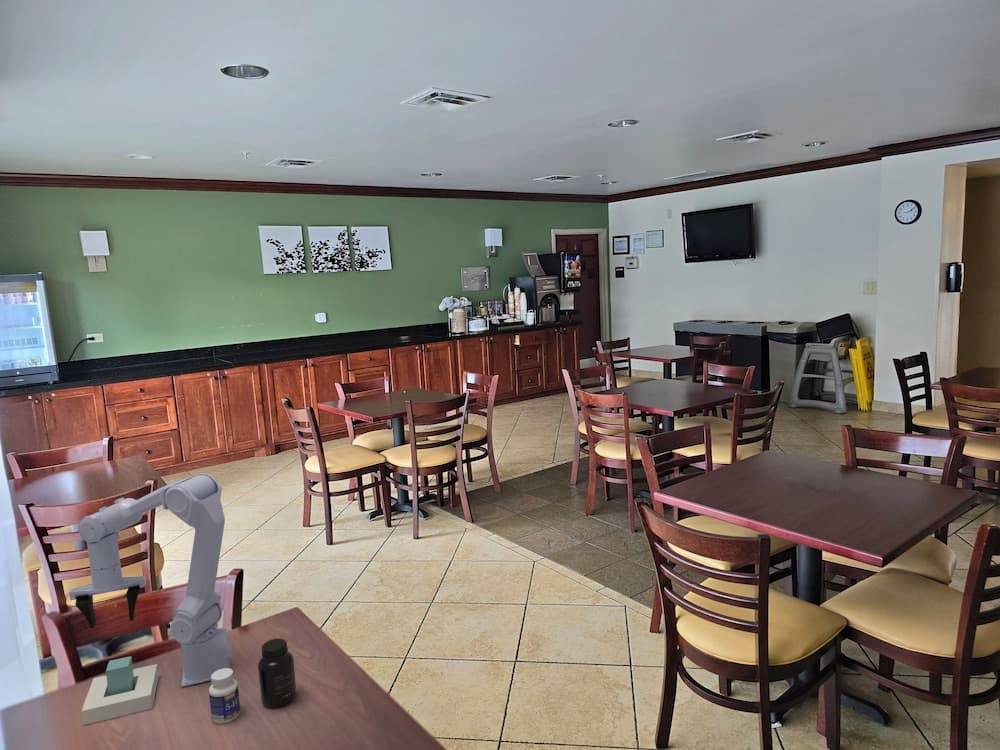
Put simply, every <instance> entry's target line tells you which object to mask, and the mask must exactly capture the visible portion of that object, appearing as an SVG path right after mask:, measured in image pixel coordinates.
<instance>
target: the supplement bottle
mask: <svg viewBox="0 0 1000 750" xmlns="http://www.w3.org/2000/svg"><path fill="white" fill-rule="evenodd" d="M294 661H295V660H294V656H293V654H292V653H291V652H290V651H289V648H288V644H287V640H285V639H284V638H280V637H279V638H273V639H269V640H267V641H266V642H264V643H263V644H262V646H261V658H260V659H259V660H258V665H257V669H258V678H259V679H258V680H259V687H260V688H259V689H260V697H261V704H262V705H263V706H264V707H266V708H267V709H273V710H274V709H280V708H283V707H287V705H289V704H291V703H292V702H294V700H295V698H296V697H297V684H296V672H295V662H294Z"/></svg>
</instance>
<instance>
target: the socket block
mask: <svg viewBox="0 0 1000 750" xmlns="http://www.w3.org/2000/svg"><path fill="white" fill-rule="evenodd" d="M133 674H134V682H135V690H133V691H129V692H125V693H121V694H116V695H112V696H109V692H108V685H107V677H106V674H105V675H101V676H98V677H97V676H96V677H93V679H92V682H91V684H90V687H89V689H88V692H87V694H86V698H85V701H84V703H83V705H82V709H81V712H80V713H81V718H82V725H83V726H87V725H90V724H93V723H99V722H102V721H103V722H104V721H107V720H111V719H115V718H118V717H119V718H120V717H124V716H127V715H131V714H132V715H133V714H136V713H139V712H144V711H148V710H152V709H153V707H154V702H155V695H156V692H157V687H158V681H159V678H158V677H160V675H159V669H158V664H157V663H156V664H155V663H154V664H151V665H147V666H143V667H138V668H133Z"/></svg>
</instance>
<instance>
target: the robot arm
mask: <svg viewBox="0 0 1000 750" xmlns="http://www.w3.org/2000/svg"><path fill="white" fill-rule="evenodd" d="M222 489H223V488H222V486H221V485H220V484H219V483H218V481H217V480H216V479H215V477H214V476H212V475H210V474H208V473H204V472H203V473H198V474H197V475H195V476H194V477H193V476H190V477H186V478H184V479H183V478H182V479H181V480H180V479H179V480H177V481H174V482H171V483H169V484H166V485H164V486H162V487H160V488H157V489H156V490H154V491H152V492H150V493H148V494H146V495H144V496H142V497H140V498H138V499H134V498H132V497H127V498H124V497H121V498H118V499H116V500H114V501H113V502H114V504H112V505H109V506H108V507H107V506H106V505H105V506H103V507H100V508H99V509H98V512H94V513H93V514H91V515H87V516H84V517H83V518H82V519H81V520H80V521H79V523H78V526H77V532H78V535H79V536H80V538H81V539H82V540H83V541H85V542H86V546H87V547H86V548H87V554H88V561H89V562H88V563H89V569H90V575H91V576H90V577H91V582H90V583H88V584H85V585H81V586H78V587H72V588H70V590H69V592H68V596H69V601H74V600H75V603H74V605H75V607H76V609H78V610H79V611H80V612H81V613H82V615H83V616H84V617H85V619H86V622H87V623H88V625H89V627H90V630H92V629H95V627H96V625H97V621H96V620H97V619H96V615H95V614H96V613H95V610H94V596H96V595H101V594H107V593H112V592H117V591H118V592H119V591H123V590H126V593H125V598H126V600H127V605H128V606H127V607H128V615H129V616H128V617H129V622H132V621H134V619H135V617H136V616H135V615H136V614H135V613H136V612H135V611H136V605H137V599H138V597H139V596H138V595H140V591H141V588H145V587H146V585H147V580H146V575H139V576H124V577H123V572H122V565H121V556H120V551H119V543H118V542H119V541H118V540H119V538H120V531H122V530H124V529H126V528H129V527H130V526H133V525H135V524H138V523H139V522H140V521H142V519H143V515H144V514H145V513H147V512H149V511H151V510H154V509H156V508H158V507H160V506H161V507H162V508H163V510H166V511H167V510H169V511H170V513H172V514H173V515H175V516H176V517H177V518H178V519H180V520H181V522H184V523H185V524H186V525H188V526H189V527H193V529H194V530H195V531H194V536H193V537H194V538H193V543H192V544H193V545H192V549H191V558H190V565H189V570H188V578H187V579H188V580H187V585H186V591H185V592H186V593H185V597H184V598H183V599H182V601H181V603H180V604H179V606H178V608H177V609H176V613H175V616H174V618H173V620H171V623H170V627H169V629H170V634H171V635H172V637H173V639H174V640H175V641H176V642H177V643H178V644H180V646H181V647H180V648H181V656H182V657H181V658H182V666H183V670H182V671H183V672H182V677H181V678H182V679H181V687H182V688H185V687H189V686H193V685H197V684H202V683H205V682H209V681H210V682H211V675H212V674H213V673H214V672H215V671H217V670H220V669H223V668H230V669H231V662H232V656H231V655H232V654H231V652H230V647H229V646H230V645H229V638H228V637H229V636H228V629H226V628H222V629H220V628H219V625H218V622H219V621H220V620H221V619H222V616H223V609H222V606H221V595H220V594H218V593H217V592H215V589H216V582H217V576H218V575H217V574H218V569H219V562H220V558H221V557H220V556H221V550H222V549H221V548H222V542H223V536H224V530H225V521H226V518H225V514H224V511H223V509H224V508H223V506H222V501H221V495H222ZM218 628H219V629H218Z"/></svg>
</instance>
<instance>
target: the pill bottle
mask: <svg viewBox="0 0 1000 750" xmlns="http://www.w3.org/2000/svg"><path fill="white" fill-rule="evenodd" d="M210 682H211V685H210V686H209V688H208V699H209V707H210V708H209V709H210V717H211V721H212V722H213V723H214V724H220V725H221V724H227V723H230V722H232V721H234V720H236V719H237V718H238V717H239V715H240V714H241V703H240V693H239V683H238V681H237V680H236V679H235V677H234V670H233V669H232V668H231V667H230V668H223V669H220V670H217V671H215V672H214V673H213V674H212V675H211V680H210Z"/></svg>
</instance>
